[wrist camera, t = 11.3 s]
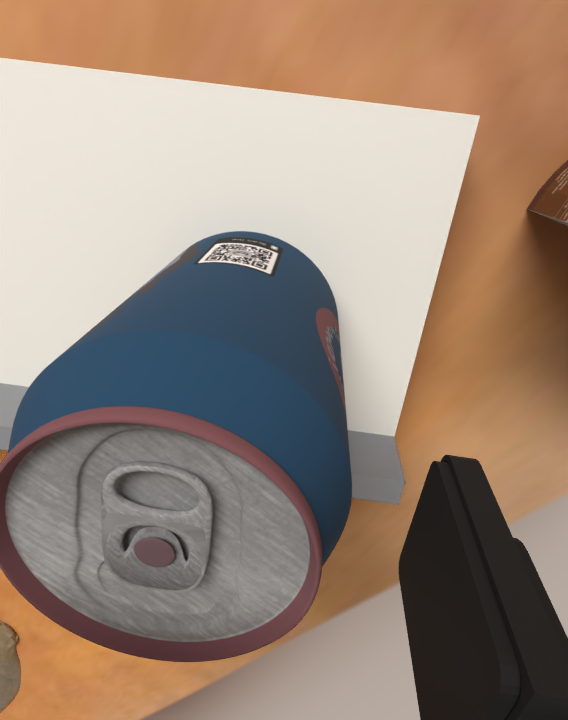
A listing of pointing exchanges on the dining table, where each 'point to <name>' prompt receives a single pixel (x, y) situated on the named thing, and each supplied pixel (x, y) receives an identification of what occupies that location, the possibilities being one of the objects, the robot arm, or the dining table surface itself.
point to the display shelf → (222, 217)
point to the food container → (553, 197)
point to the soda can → (186, 459)
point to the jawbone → (8, 665)
